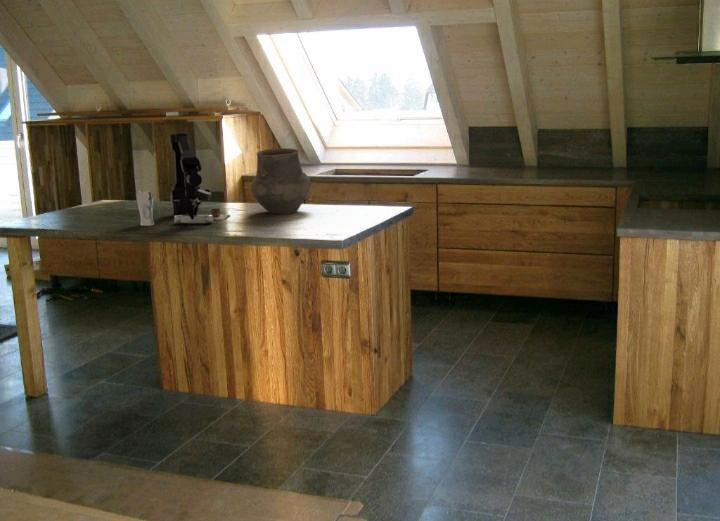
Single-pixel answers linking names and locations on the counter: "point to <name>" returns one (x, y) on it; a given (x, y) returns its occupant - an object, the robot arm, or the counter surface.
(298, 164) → the ceramic pot
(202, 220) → the grey rod with balls
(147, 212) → the beer glass
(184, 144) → the robot arm
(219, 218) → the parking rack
